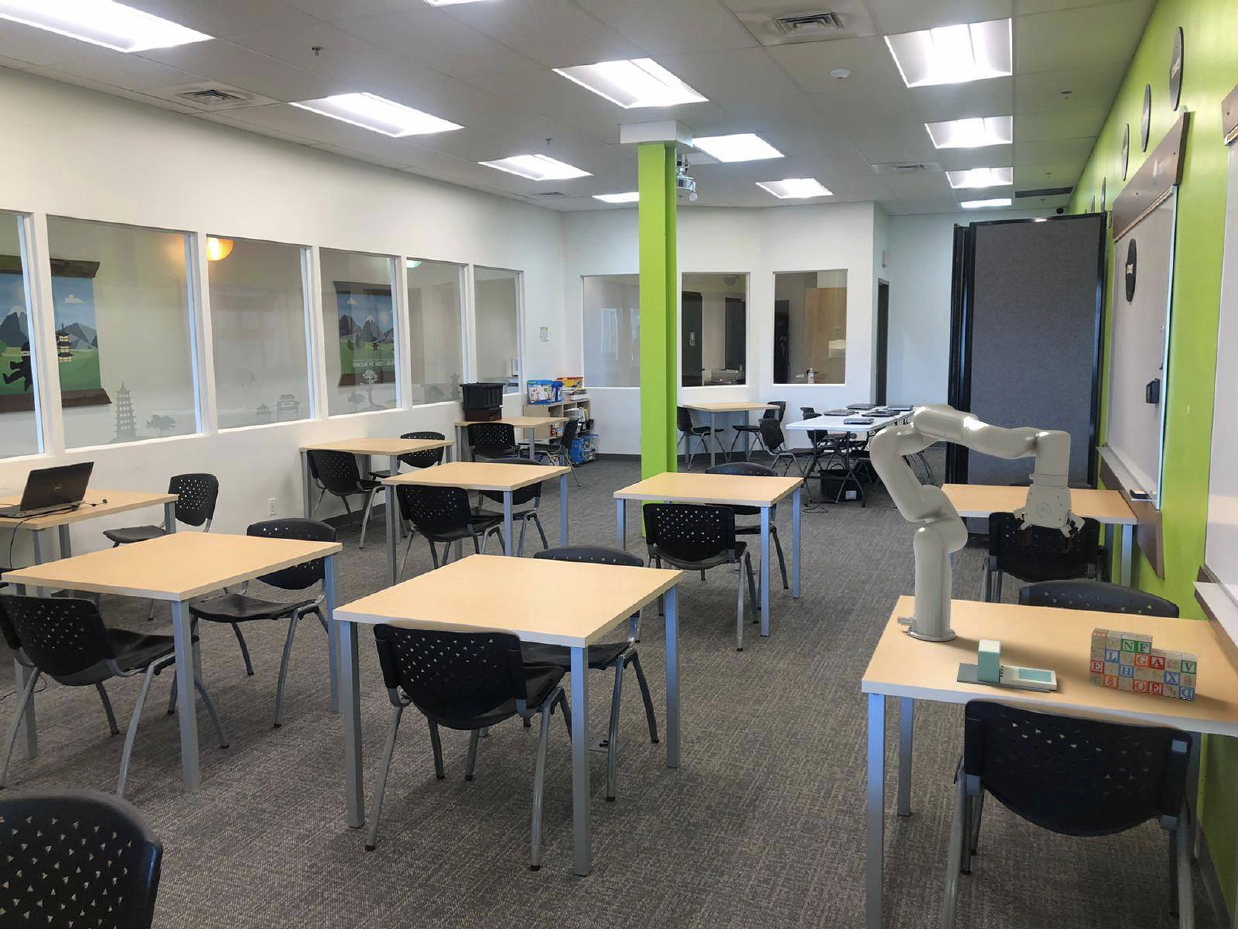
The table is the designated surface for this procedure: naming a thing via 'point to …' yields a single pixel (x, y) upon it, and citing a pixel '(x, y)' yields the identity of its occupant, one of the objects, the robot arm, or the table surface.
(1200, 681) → the table surface
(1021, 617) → the table surface
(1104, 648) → the stack of blocks
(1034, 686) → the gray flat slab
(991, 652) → the teal rectangular block
